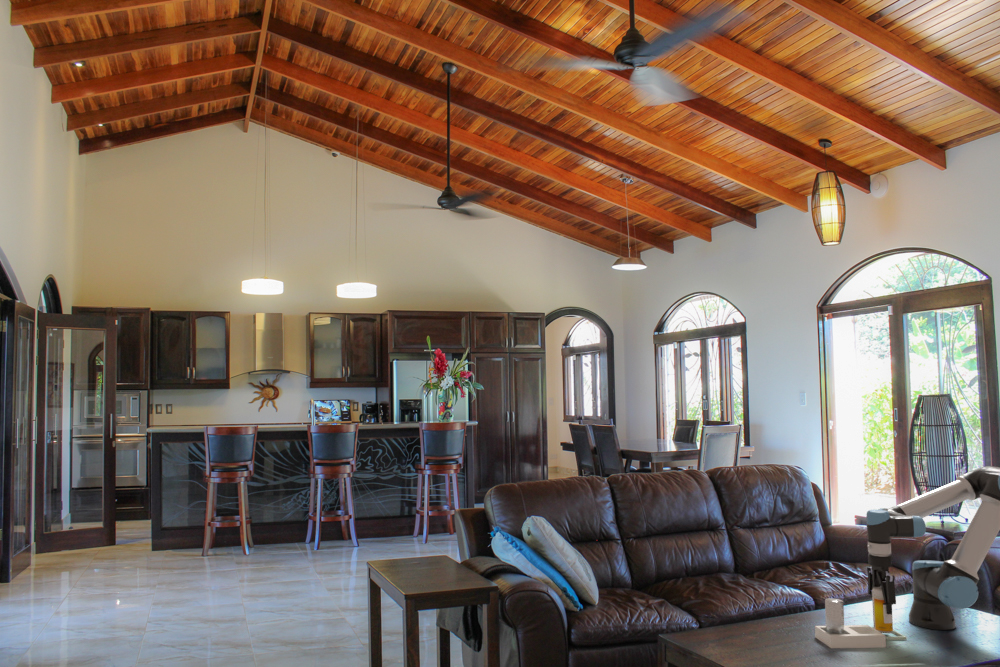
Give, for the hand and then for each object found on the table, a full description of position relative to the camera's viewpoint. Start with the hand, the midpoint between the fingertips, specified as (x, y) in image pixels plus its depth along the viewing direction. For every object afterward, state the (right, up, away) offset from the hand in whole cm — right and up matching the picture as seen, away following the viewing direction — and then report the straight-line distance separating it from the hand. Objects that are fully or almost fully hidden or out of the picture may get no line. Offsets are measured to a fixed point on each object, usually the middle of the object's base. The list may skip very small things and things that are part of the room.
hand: (882, 619), depth 268 cm
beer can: (0, -4, 0) cm, 4 cm away
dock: (-16, -5, -10) cm, 20 cm away
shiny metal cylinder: (-22, -4, -10) cm, 24 cm away
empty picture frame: (0, -5, 0) cm, 5 cm away
